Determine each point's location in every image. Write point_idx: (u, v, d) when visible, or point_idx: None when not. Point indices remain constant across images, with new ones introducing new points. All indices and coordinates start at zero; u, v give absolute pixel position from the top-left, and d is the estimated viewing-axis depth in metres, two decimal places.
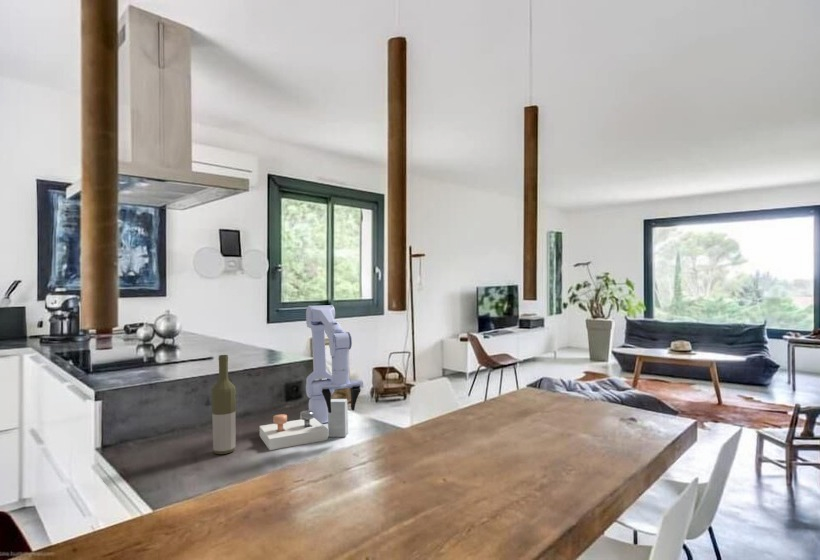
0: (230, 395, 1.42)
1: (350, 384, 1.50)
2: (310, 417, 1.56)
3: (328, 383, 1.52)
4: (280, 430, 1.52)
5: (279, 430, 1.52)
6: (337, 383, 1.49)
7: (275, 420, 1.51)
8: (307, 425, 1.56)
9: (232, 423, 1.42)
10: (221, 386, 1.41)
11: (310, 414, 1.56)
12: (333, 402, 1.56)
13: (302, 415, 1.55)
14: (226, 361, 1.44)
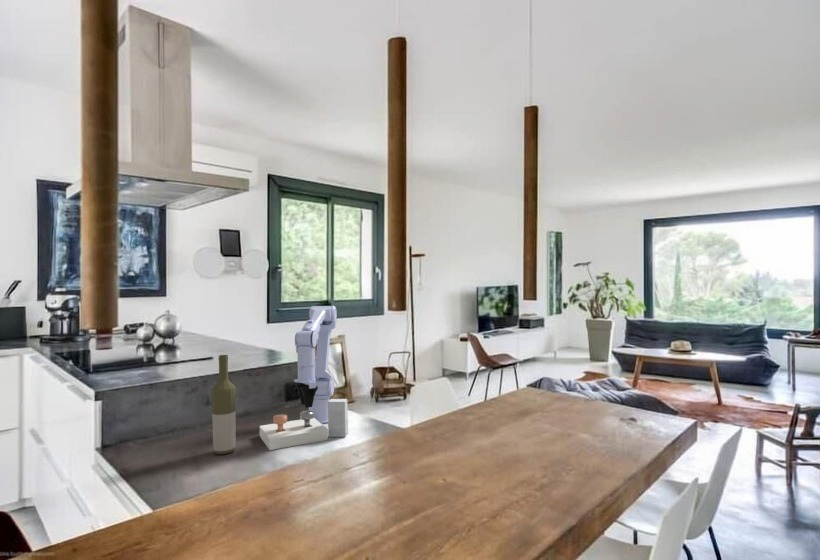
0: (230, 395, 1.42)
1: (302, 381, 1.54)
2: (310, 417, 1.56)
3: None
4: (280, 430, 1.52)
5: (279, 430, 1.52)
6: None
7: (275, 420, 1.51)
8: (307, 425, 1.56)
9: (232, 423, 1.42)
10: (221, 386, 1.41)
11: (310, 414, 1.56)
12: (333, 402, 1.56)
13: (302, 415, 1.55)
14: (226, 361, 1.44)
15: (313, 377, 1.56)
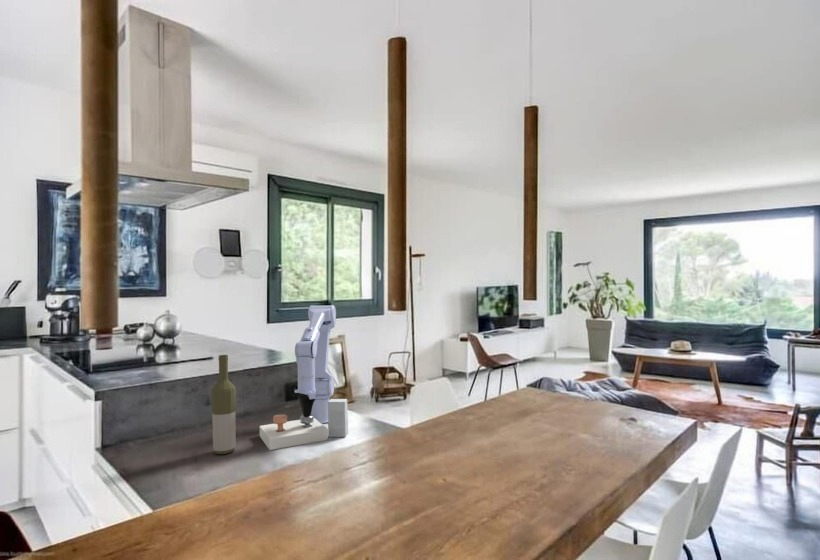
0: (230, 395, 1.42)
1: (302, 392, 1.54)
2: (310, 421, 1.56)
3: None
4: (280, 430, 1.52)
5: (279, 430, 1.52)
6: None
7: (275, 420, 1.51)
8: None
9: (232, 423, 1.42)
10: (221, 386, 1.41)
11: (310, 418, 1.56)
12: (333, 402, 1.56)
13: (302, 419, 1.55)
14: (226, 361, 1.44)
15: (313, 387, 1.56)
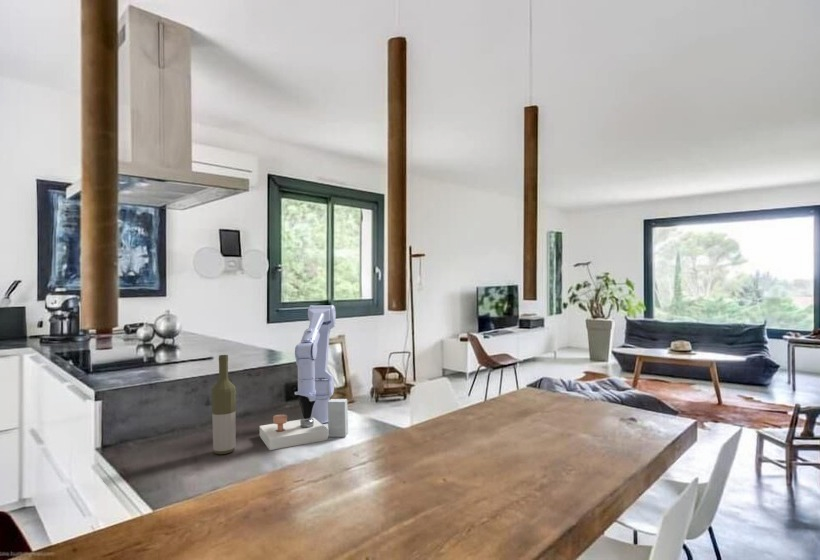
0: (230, 395, 1.42)
1: (302, 394, 1.54)
2: (310, 425, 1.56)
3: None
4: (280, 430, 1.52)
5: (279, 430, 1.52)
6: None
7: (275, 420, 1.51)
8: None
9: (232, 423, 1.42)
10: (221, 386, 1.41)
11: (310, 422, 1.56)
12: (333, 402, 1.56)
13: (302, 423, 1.55)
14: (226, 361, 1.44)
15: (313, 389, 1.56)
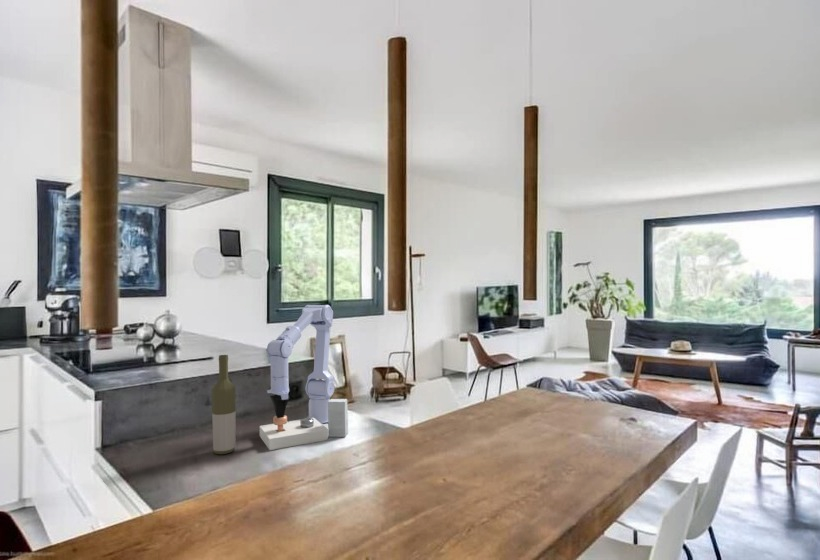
0: (231, 395, 1.42)
1: (274, 392, 1.50)
2: (310, 425, 1.56)
3: None
4: (280, 431, 1.52)
5: (279, 431, 1.52)
6: None
7: (275, 421, 1.51)
8: None
9: (232, 423, 1.42)
10: (221, 386, 1.41)
11: (310, 422, 1.56)
12: (333, 402, 1.56)
13: (302, 423, 1.55)
14: (227, 361, 1.44)
15: (286, 388, 1.52)
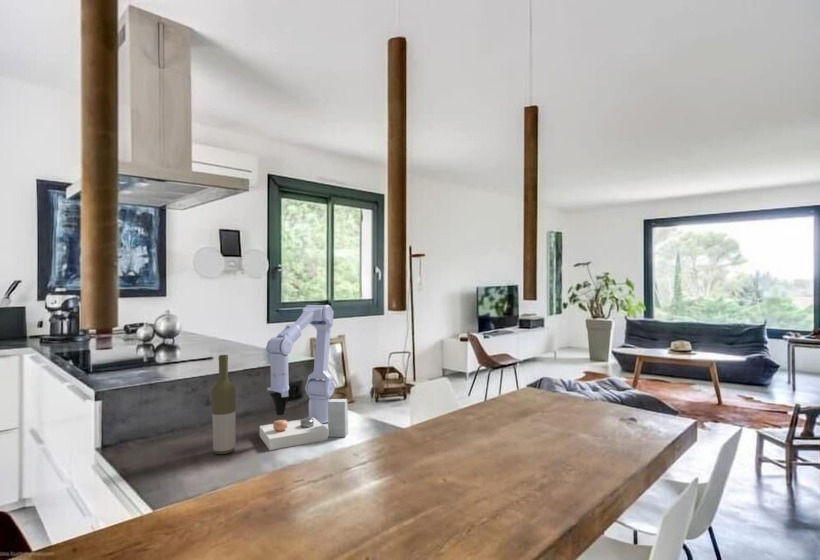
0: (230, 395, 1.42)
1: (274, 390, 1.50)
2: (310, 425, 1.56)
3: None
4: None
5: None
6: None
7: (275, 426, 1.51)
8: None
9: (232, 423, 1.42)
10: (221, 386, 1.41)
11: (310, 422, 1.56)
12: (333, 402, 1.56)
13: (302, 423, 1.55)
14: (226, 361, 1.44)
15: (286, 385, 1.52)
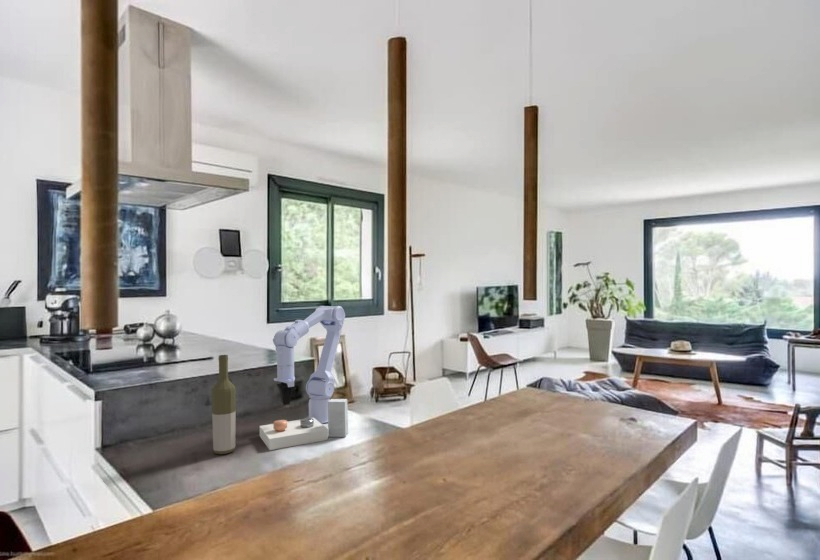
0: (230, 395, 1.42)
1: (281, 380, 1.57)
2: (310, 425, 1.56)
3: None
4: None
5: None
6: None
7: (275, 426, 1.51)
8: None
9: (232, 423, 1.42)
10: (221, 386, 1.41)
11: (310, 422, 1.56)
12: (333, 402, 1.56)
13: (302, 423, 1.55)
14: (226, 361, 1.44)
15: (292, 376, 1.59)
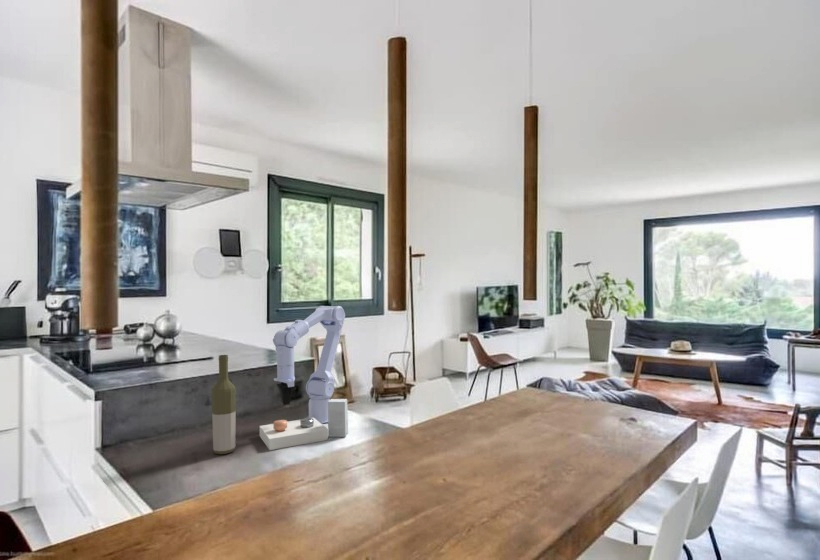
0: (230, 395, 1.42)
1: (281, 380, 1.57)
2: (310, 425, 1.56)
3: None
4: None
5: None
6: None
7: (275, 426, 1.51)
8: None
9: (232, 423, 1.42)
10: (221, 386, 1.41)
11: (310, 422, 1.56)
12: (333, 402, 1.56)
13: (302, 423, 1.55)
14: (226, 361, 1.44)
15: (292, 376, 1.59)
